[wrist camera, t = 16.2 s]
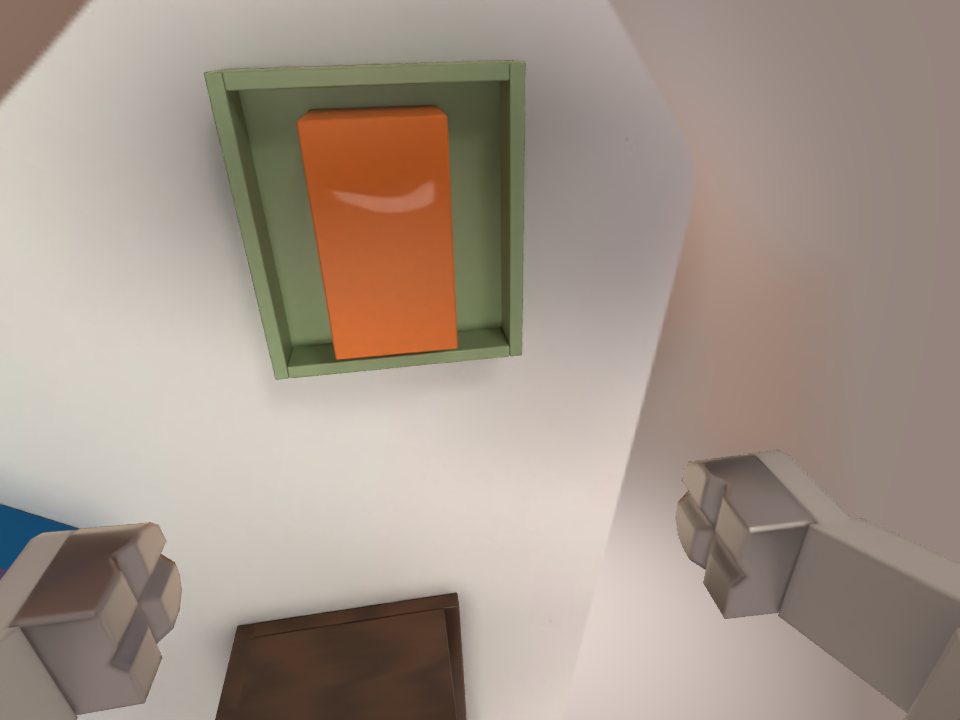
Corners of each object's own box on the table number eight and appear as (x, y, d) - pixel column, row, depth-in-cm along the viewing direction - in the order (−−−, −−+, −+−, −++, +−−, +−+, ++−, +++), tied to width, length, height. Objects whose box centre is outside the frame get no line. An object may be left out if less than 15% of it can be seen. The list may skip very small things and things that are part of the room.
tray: (511, 60, 23) (526, 61, 21) (510, 331, 29) (522, 355, 27) (220, 69, 21) (203, 72, 19) (283, 352, 27) (275, 380, 25)
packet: (436, 104, 23) (447, 114, 19) (447, 310, 27) (458, 349, 24) (308, 109, 22) (295, 120, 19) (340, 319, 26) (335, 360, 23)
